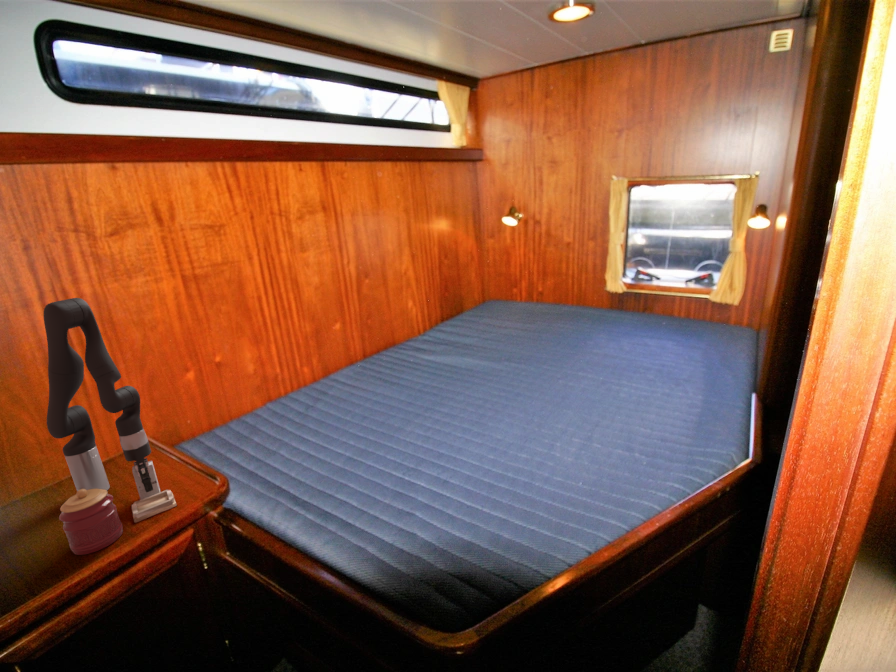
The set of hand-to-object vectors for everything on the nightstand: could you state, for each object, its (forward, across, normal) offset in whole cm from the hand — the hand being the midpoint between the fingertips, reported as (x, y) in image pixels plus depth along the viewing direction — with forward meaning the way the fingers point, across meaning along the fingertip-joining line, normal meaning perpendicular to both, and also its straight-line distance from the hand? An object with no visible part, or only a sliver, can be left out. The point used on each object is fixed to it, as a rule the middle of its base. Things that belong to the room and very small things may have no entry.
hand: (148, 487), depth 160 cm
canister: (+4, +17, -15) cm, 23 cm away
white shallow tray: (+3, +10, 0) cm, 10 cm away
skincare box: (+4, 0, 0) cm, 4 cm away
